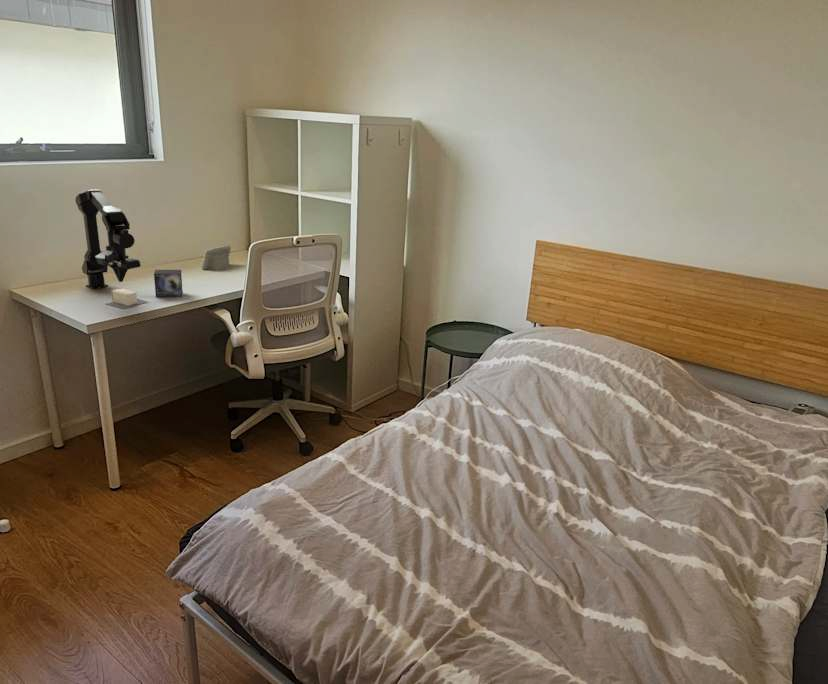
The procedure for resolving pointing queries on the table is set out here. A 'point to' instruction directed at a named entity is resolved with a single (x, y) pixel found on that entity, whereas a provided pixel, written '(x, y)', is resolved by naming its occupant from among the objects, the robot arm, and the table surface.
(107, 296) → the table surface
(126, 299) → the cream block
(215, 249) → the digital clock
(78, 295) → the table surface
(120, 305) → the grey rubber mat
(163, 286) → the small box
